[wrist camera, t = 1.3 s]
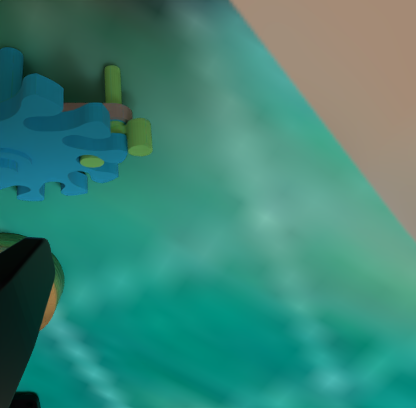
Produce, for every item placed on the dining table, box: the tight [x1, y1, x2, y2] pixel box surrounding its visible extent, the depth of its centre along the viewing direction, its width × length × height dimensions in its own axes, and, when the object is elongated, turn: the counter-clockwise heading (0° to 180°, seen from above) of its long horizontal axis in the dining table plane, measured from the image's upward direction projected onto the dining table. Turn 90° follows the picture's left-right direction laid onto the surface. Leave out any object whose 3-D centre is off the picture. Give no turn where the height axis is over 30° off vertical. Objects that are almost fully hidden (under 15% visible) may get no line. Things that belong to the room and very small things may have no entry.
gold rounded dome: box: [0, 233, 64, 331], centre depth 22 cm, size 6×6×3 cm
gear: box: [0, 47, 153, 201], centre depth 17 cm, size 11×6×10 cm
